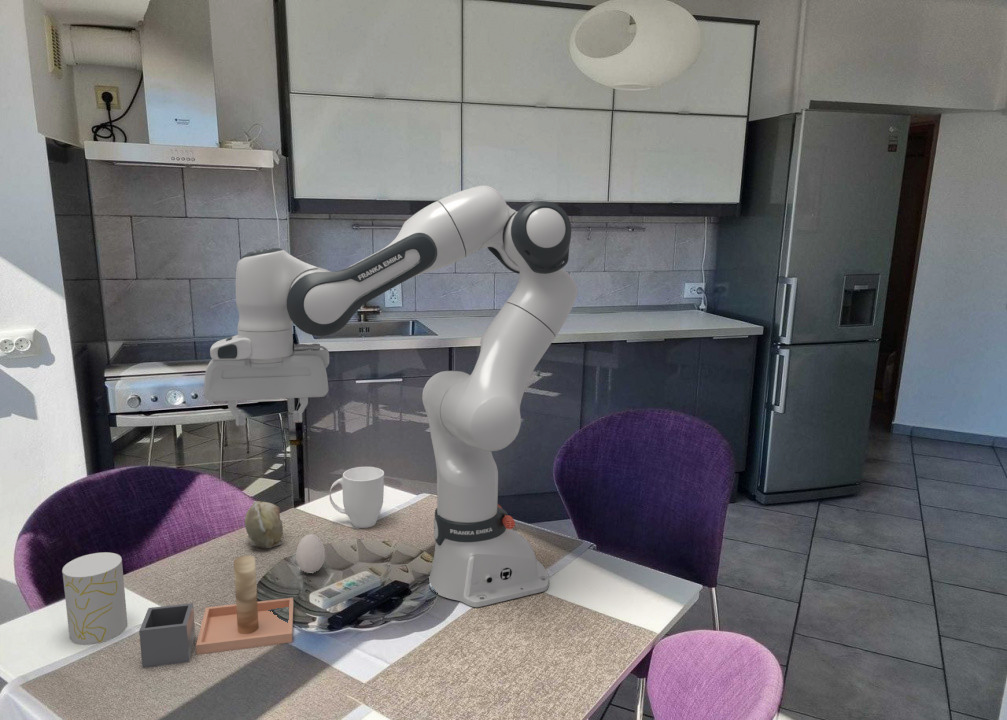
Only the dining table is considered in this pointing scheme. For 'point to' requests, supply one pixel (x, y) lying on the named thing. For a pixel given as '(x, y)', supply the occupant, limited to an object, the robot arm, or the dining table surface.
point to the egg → (310, 553)
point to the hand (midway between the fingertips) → (269, 423)
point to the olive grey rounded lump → (264, 525)
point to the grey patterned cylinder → (95, 598)
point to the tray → (224, 634)
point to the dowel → (246, 594)
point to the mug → (361, 495)
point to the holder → (167, 635)
